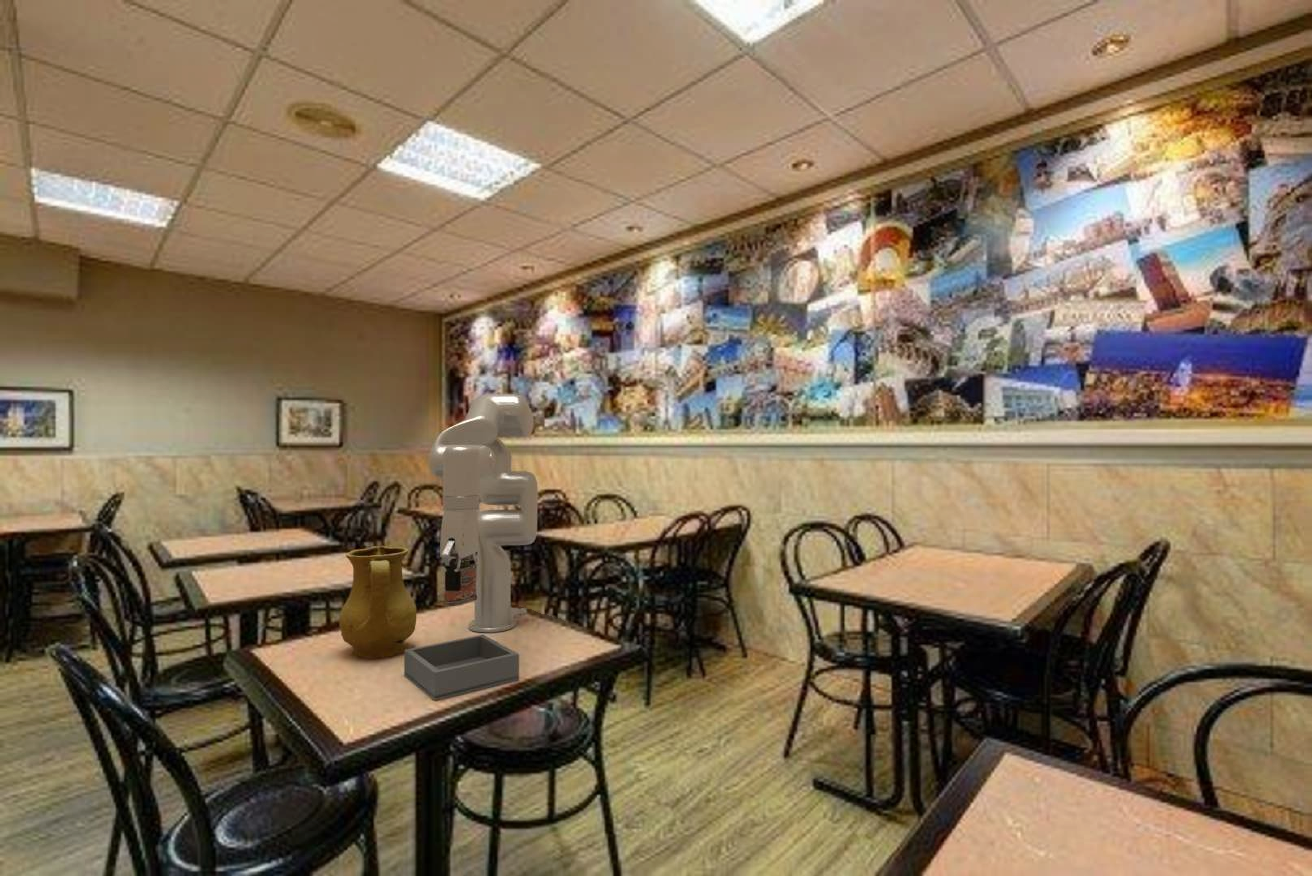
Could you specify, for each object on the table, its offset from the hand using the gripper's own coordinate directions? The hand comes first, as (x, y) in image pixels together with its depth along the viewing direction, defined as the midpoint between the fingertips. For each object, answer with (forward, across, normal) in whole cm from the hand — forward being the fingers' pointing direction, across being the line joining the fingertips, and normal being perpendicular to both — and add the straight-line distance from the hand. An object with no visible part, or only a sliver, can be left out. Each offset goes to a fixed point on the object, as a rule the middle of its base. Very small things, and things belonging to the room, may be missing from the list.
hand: (461, 585), depth 141 cm
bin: (+20, 0, 0) cm, 20 cm away
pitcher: (+20, -14, -27) cm, 36 cm away
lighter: (+4, 0, 0) cm, 4 cm away
